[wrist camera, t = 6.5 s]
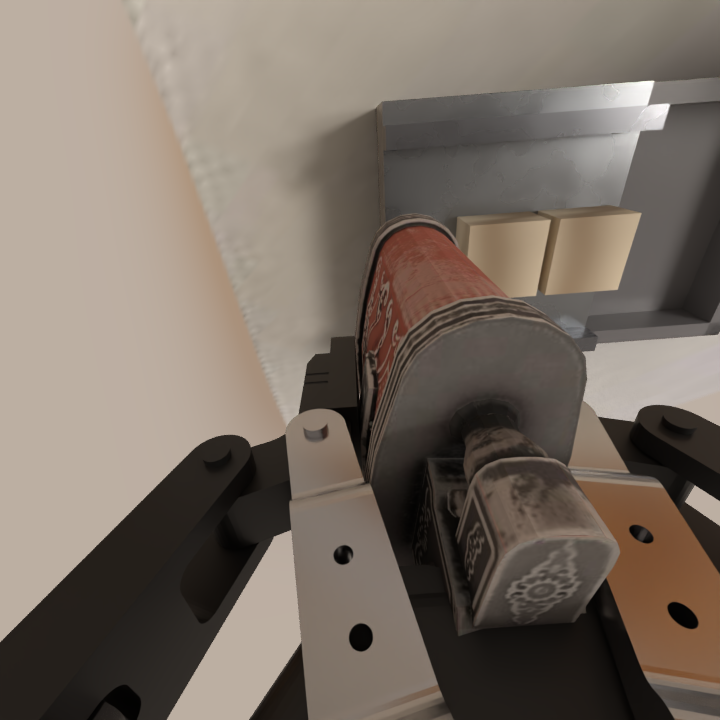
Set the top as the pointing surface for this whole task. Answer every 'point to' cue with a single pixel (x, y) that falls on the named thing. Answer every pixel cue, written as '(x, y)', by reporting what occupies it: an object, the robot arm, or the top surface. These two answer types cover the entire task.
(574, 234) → the chip
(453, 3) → the top surface
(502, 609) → the lighter
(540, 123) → the slot block
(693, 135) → the tray
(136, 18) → the top surface
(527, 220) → the chip
